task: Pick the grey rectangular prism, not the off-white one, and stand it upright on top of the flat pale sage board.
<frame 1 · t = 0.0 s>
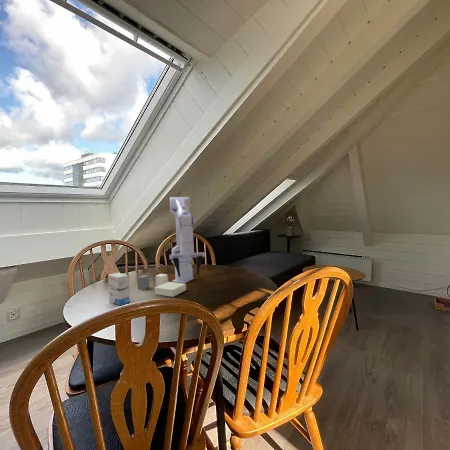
hand: (188, 275, 117), 11 cm above the table, tool pointing down, fingers open, 7 cm apart
off-white pillar: (162, 287, 138), on the table
sage board: (170, 292, 130), on the table
ink box: (119, 302, 118), on the table
grey rectangular prism: (143, 288, 137), on the table
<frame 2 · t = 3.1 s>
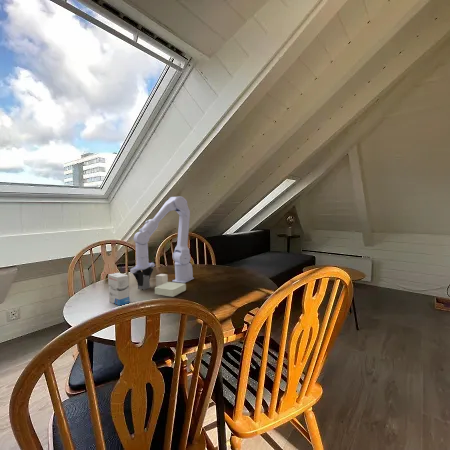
hand: (143, 284, 137), 2 cm above the table, tool pointing down, fingers closed on grey rectangular prism, 4 cm apart
grey rectangular prism: (143, 288, 137), on the table, touching gripper
everything else where it was.
when the fingers open (6 cm above the table, at t = 7.0 s): grey rectangular prism stays where it is, resting on sage board.
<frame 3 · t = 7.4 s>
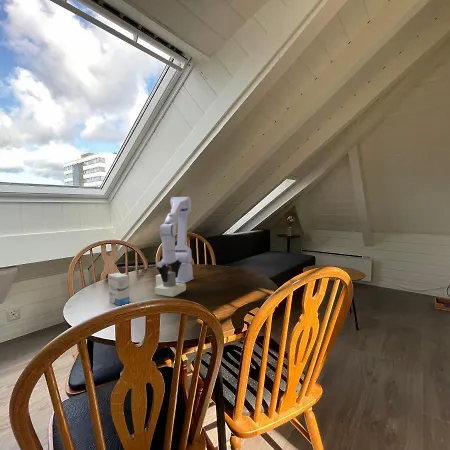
hand: (170, 279, 130), 6 cm above the table, tool pointing down, fingers open, 7 cm apart
grey rectangular prism: (169, 285, 130), point 3 cm above the table, touching sage board
everything else where it was.
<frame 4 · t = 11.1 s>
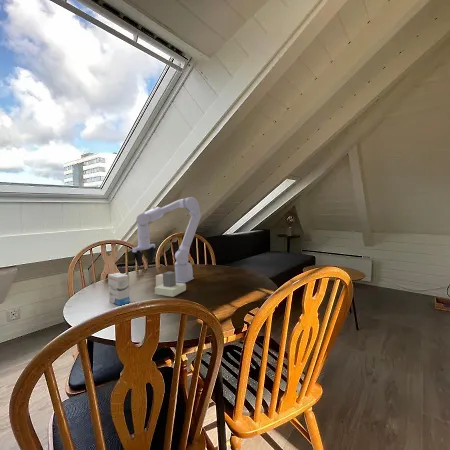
hand: (145, 264, 143), 10 cm above the table, tool pointing down, fingers open, 7 cm apart
nothing on the table moved.
at the end: grey rectangular prism 0.4 cm off-centre on the sage board, point 3.0 cm above the sage board's base; grey rectangular prism tilted 0°; the gripper is holding nothing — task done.
